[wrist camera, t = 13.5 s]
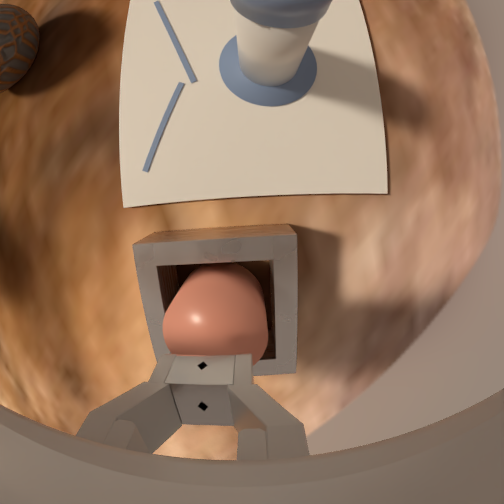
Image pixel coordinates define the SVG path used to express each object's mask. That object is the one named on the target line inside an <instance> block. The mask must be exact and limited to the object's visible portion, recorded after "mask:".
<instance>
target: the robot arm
mask: <svg viewBox="0 0 504 504" xmlns="http://www.w3.org/2000/svg"><path fill="white" fill-rule="evenodd" d="M182 424H191V425H221V426H234V427H235V429H236V430H237V432H238V433H239V434H238V449H237V460H206V459H191V458H180V457H171V456H163V455H156V454H152V453H153V452H154V451H155V450H157V449H158V448H159V447H160V446H161V445H162V444H163V443H164V442H165V441H166V440H167V439H168V438H169V437H170V436H172V435H173V434H174V433H175V432H176V431H177V430H178V429H179V428H180V427H181V426H182ZM0 504H504V389H502V390H501V391H499V392H497V393H495V394H494V395H492V396H490V397H488V398H487V399H485V400H483V401H481V402H479V403H477V404H475V405H473V406H471V407H469V408H467V409H465V410H463V411H461V412H459V413H456V414H454V415H452V416H450V417H448V418H445V419H443V420H440V421H438V422H436V423H433V424H430V425H428V426H426V427H423V428H420V429H417V430H414V431H411V432H408V433H405V434H402V435H399V436H396V437H393V438H390V439H386V440H382V441H379V442H375V443H371V444H368V445H363V446H359V447H354V448H350V449H345V450H340V451H334V452H329V453H323V454H316V455H309V450H308V445H307V440H306V435H305V430H304V425H303V423H301V422H300V421H299V420H298V419H297V418H295V417H294V416H293V415H292V414H290V413H289V412H288V411H287V410H286V409H284V408H283V407H282V406H281V405H280V404H279V403H277V402H276V401H275V400H274V399H273V398H272V397H271V396H269V395H268V394H267V393H266V392H265V391H264V390H263V389H261V388H260V387H259V386H258V385H257V384H254V376H253V362H252V354H251V353H248V354H236V355H212V356H206V355H181V354H178V355H177V354H163V355H161V357H160V359H159V361H158V363H157V365H156V367H155V369H154V371H153V373H152V375H151V377H150V379H149V381H148V382H143V383H141V384H139V385H138V386H136V387H134V388H133V389H131V390H129V391H127V392H125V393H124V394H122V395H120V396H118V397H117V398H115V399H113V400H111V401H109V402H108V403H106V404H104V405H102V406H100V407H98V408H96V409H95V410H93V411H91V412H90V413H89V414H88V416H87V418H86V419H85V421H84V423H83V424H82V426H81V428H80V429H79V431H78V433H77V434H76V436H74V435H71V434H68V433H65V432H62V431H59V430H57V429H54V428H51V427H49V426H46V425H44V424H41V423H39V422H36V421H34V420H32V419H29V418H27V417H25V416H23V415H21V414H18V413H16V412H14V411H12V410H10V409H8V408H6V407H4V406H2V405H0Z"/></svg>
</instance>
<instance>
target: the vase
mask: <svg viewBox="0 0 504 504" xmlns="http://www.w3.org/2000/svg"><path fill="white" fill-rule="evenodd" d="M38 46H39V29H38V26H37V23H36V22H35V20H34V18H33V17H32V16H31V15H30V14H29V13H28V12H27V11H25V10H24V9H22V8H20V7H18V6H15V5H10V4H0V93H2V92H4V91H5V90H7V89H9V88H10V87H12V86H13V85H14V84H15V83H17V82H18V81H19V80H20V79H21V78H22V77H23V76H24V75H25V74H26V72H27V71H28V70H29V68H30V67H31V65H32V63H33V61H34V59H35V57H36V54H37V51H38Z"/></svg>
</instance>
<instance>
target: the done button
mask: <svg viewBox="0 0 504 504" xmlns="http://www.w3.org/2000/svg"><path fill="white" fill-rule="evenodd" d="M163 337H164V340H165V343H166V345H167V347H168V349H169V351H170V352H171V354H177V355H178V354H181V355H206V356H212V355H236V354H248V353H251V354H252V362H253V366H254V365H255V364H256V363H257V362H258V361H259V360H260V358H261V357H262V356H263V354H264V352H265V350H266V347H267V343H268V328H267V319H266V310H265V302H264V294H263V290H262V287H261V285H260V283H259V281H258V280H257V278H256V277H255V276H254V275H253V274H252V273H251V272H250V271H249V270H247V269H246V268H244V267H242V266H241V265H238V264H236V263H232V262H222V263H206V264H203V265H201V266H199V267H198V268H196V269H195V270H194V271H192V272H191V273H190V274H189V276H188V277H187V279H186V280H185V282H184V283H183V285H182V286H181V288H180V290H179V291H178V293H177V294H176V296H175V298H174V299H173V301H172V302H171V304H170V306H169V307H168V309H167V311H166V313H165V316H164V319H163Z"/></svg>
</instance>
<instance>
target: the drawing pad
mask: <svg viewBox="0 0 504 504" xmlns="http://www.w3.org/2000/svg"><path fill="white" fill-rule="evenodd" d="M119 144H120V169H121V184H122V197H123V207H124V208H126V207H134V206H143V205H152V204H161V203H171V202H181V201H192V200H204V199H217V198H231V197H247V196H266V195H290V194H332V193H375V194H388V193H387V161H386V145H385V133H384V122H383V113H382V105H381V98H380V91H379V84H378V78H377V72H376V67H375V62H374V57H373V52H372V47H371V43H370V39H369V34H368V30H367V26H366V23H365V19H364V15H363V12H362V8H361V5H360V2H359V0H332V2H331V4H330V6H329V8H328V10H327V12H326V14H325V15H324V16H323V17H322V18H321V19H320V20H319V22H318V25H317V27H316V29H315V31H314V33H313V36H312V38H311V40H310V42H309V45H308V47H307V49H306V51H305V54H304V56H303V58H302V61H301V63H300V65H299V68H298V70H297V72H296V74H295V75H294V77H293V78H292V79H291V80H290V81H288V82H286V83H284V84H282V85H279V86H262V85H258V84H256V83H254V82H252V81H250V80H249V79H248V78H246V77H245V75H244V74H243V73H242V71H241V69H240V65H239V56H238V46H237V37H236V27H235V17H234V7H233V6H232V4H231V2H230V0H130V5H129V11H128V17H127V23H126V30H125V38H124V46H123V56H122V67H121V82H120V106H119Z"/></svg>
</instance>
